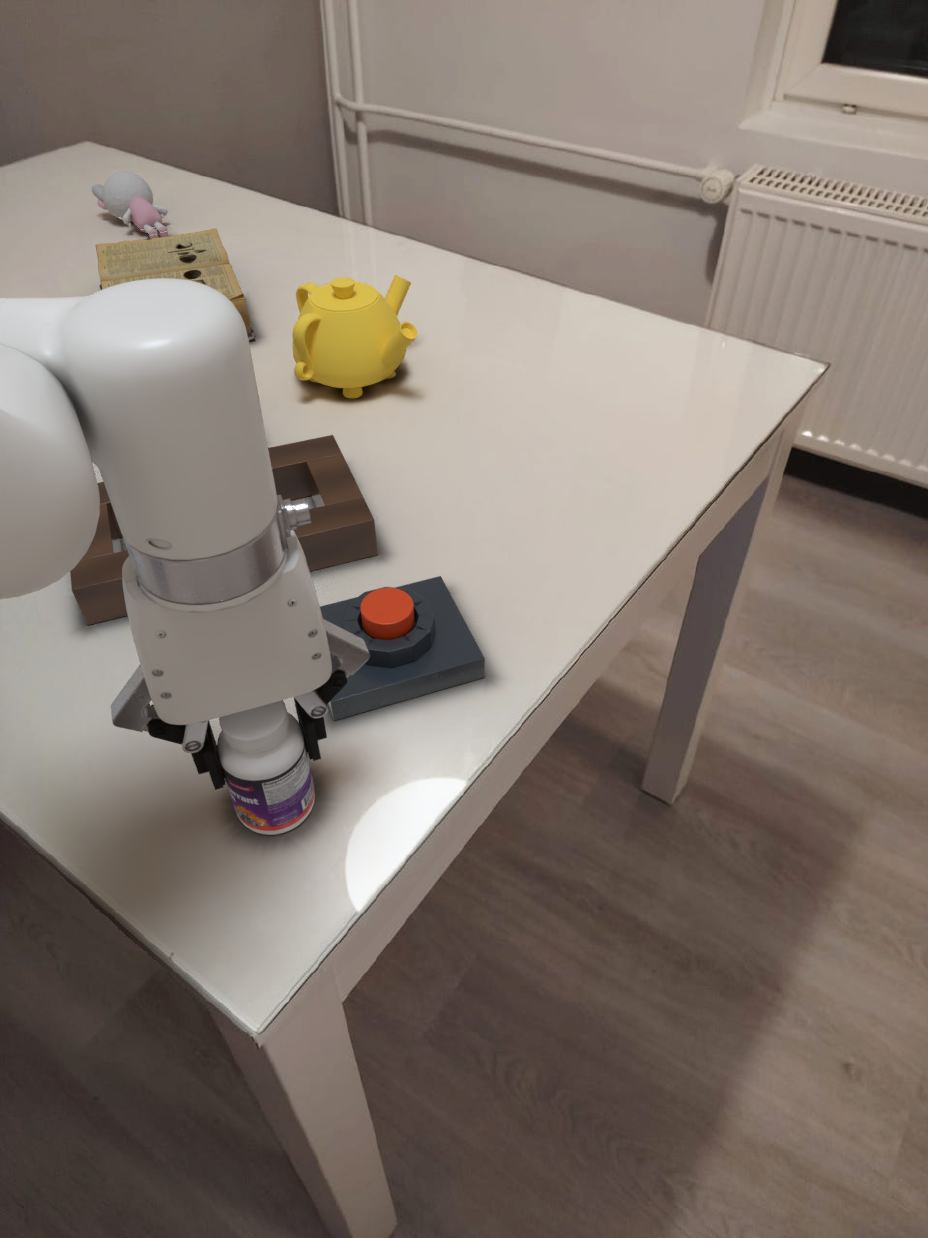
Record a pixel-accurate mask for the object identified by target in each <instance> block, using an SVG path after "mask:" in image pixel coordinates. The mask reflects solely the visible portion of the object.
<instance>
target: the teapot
mask: <svg viewBox="0 0 928 1238" xmlns="http://www.w3.org/2000/svg"><path fill="white" fill-rule="evenodd" d="M411 284H412V282H410V281H409V280H408V279H405V278H404V277H401V276H400V275H396V274H394V276H393V278H392V280H391V282H390V285H389V288H388V289H387V292H386V294H385V296H383V295H382V293H381V292H380V291H379V290H378V289H377V288H376V287H374V286H372V285H371V284H368V283H366V282H363V281H362V282H361V281H355V279H354V278H352V277H347V276H341V277H340V276H339V277H335V278H334V279H332V280H331V281H330V282H329V283H326V284H325V283H324V284H323V285H321V286H319V285H318V284H316V283H314V282H305V283H302V284H301V285H299V286H298V287H297V289H296V291H295V298H296V303H297V307H298V311H299V315H298V317H297V320H296V321H295V323H294V326H293V328H292V356H293V361H294V363H295V366H294V370H293V374H294V376H295V377H296V379H298V380H300V381H310V382H312V383H317V384H321V385H324V386H327V387H332V388H338V389H342V395H343V396H344V397H345V398H347V399H357V398H360V397H361V396H362V395H363V394H364V391H363V387H367V386H371V385H375V384H377V383H380V382H382V381H384V380H390V379H392V378H394V377H396V375H397V373H396V370H397V368H398V367H399V366H400V365H401V364H402V362H403V360H404V359H405V356H406V353H407V348H408V347H409V346H410V345H411V344H412V343H413V342H414V341H415V339H416V338H417V337H418V334H419V333H418V329H417V327H416V326H415V325H414V324H413V323H411V322H410V321H403V322H400V320H399V317H398V316H399V313H400V311H401V309H402V306H403V303H404V301H405V299H406V296H407V294H408V292H409V290H410V287H411Z"/></svg>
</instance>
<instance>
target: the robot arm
mask: <svg viewBox="0 0 928 1238" xmlns="http://www.w3.org/2000/svg"><path fill="white" fill-rule="evenodd" d="M257 383H258V382H257V379H256V373H255V367H254V361H253V355H252V350H251V345H250V340H248V336H247V331H246V327H245V324H244V321H243V319H242V317H241V315H240V313H239V312H238V310H237V309H236V307H235V306H234V304H233V303H232V302H231V301H230V300H229V299H228V298H227V297H226V296H224V295H223V294H222V293H221V292H219V291H217V290H215V289H213V288H211V287H209V286H207V285H205V284H201V283H198V282H195V281H190V280H184V279H173V278H157V279H145V280H137V281H131V282H126V283H122V284H118V285H115V286H111V287H108V288H106V289H103V290H101V289H100V290H97V291H96V292H93V293H92V294H90V295H83V296H82V295H81V296H66V297H64V296H63V297H62V296H61V297H0V600H6V599H12V598H19V597H22V596H25V595H29V594H32V593H35V592H39V591H41V590H43V589H46V588H47V587H49V586H51V585H54V584H55V583H57V582H59V581H60V580H62V578H64V577H65V576H67V574H70V571H71V570H72V569H74V568H75V566H76V565H77V564H78V562H79V561H80V560H81V559H82V557H83V556H84V555H85V554H86V552H87V551H88V549H89V547H90V545H91V542H92V540H93V538H94V536H95V533H96V529H97V524H98V519H99V515H100V496H99V488H98V483H99V482H98V479H97V475H96V472H95V468H94V465H95V466H96V467H97V468H98V470H99V473H100V475H101V479H102V482H104V485H105V487H106V490H107V493H108V496H109V499H110V502H111V505H112V507H113V510H114V513H115V516H116V519H117V522H118V525H119V528H120V530H121V533H122V536H123V537H122V539H123V541H124V545H125V549H126V550H128V553H129V556H128V557H127V559H126V560H125V562H124V564H123V567H122V582H123V591H124V598H125V604H126V610H127V614H128V616H127V618H128V622H129V627H130V632H131V634H132V639H133V642H134V646H135V651H136V654H137V657H138V661H139V665H138V667H137V668H136V670H134V673H132V675H131V676H130V678H129V679H128V681H127V682H126V683H125V685H124V686H123V688H122V689H121V691H120V692H119V693H118V694H117V696H116V697H115V698H114V700H113V701H112V703H111V704H110V713H111V721H112V722H111V723H112V725H113V726H114V727H117V728H121V729H125V730H129V731H134V732H139V733H143V732H147V733H148V735H149V736H150V737H151V738H155V739H159V740H163V741H165V742H166V741H167V742H169V743H173V744H177V745H181V749H182V751H184V752H185V753H187V754H191V757H192V760H193V763H194V766H195V769H196V772H197V774H198V775H202V774H206V773H209V777H210V780H211V783H212V785H213V789H214V790H215V791H216V790H220V789H224V786H225V785H226V786H227V784H226V781H225V778H224V774H223V771H222V768H221V765H220V762H219V759H218V754H217V741H216V738H215V735H214V732H213V729H212V725H211V722H210V720H214V719H219V717H222V716H226V715H230V714H234V713H237V712H241V711H245V710H249V709H252V708H256V707H260V706H263V705H267V704H271V703H274V702H278V701H281V700H283V701H284V700H289V699H292V698H293V701H294V706H295V707H294V708H295V711H296V715H297V721H298V722H299V724H300V726H301V728H302V731H303V734H304V738H305V744H306V749H307V754H308V759H309V761H313V762H316V761H318V760H322V757H321V750H320V746H319V741H320V740H324V739H327V738H328V735H327V729H326V728H327V727H326V723H325V718H324V716H326V715H327V714H328V712H329V706H328V703H329V702H330V701H331V700H332V699H333V698H334V697H335V696H336V694H337V693H338V692H339V691H340V690H341V689H342V688H343V687H344V686H345V685H346V684H347V678H348V677H349V676H350V675H353V674H354V673H355V672H356V671H357V670H358V669H359V668H361V667H362V666H363V665H364V664H365V663H366V662H367V661H368V660H369V658H370V653H369V651H368V648H367V646H366V643H365V641H364V640H363V639H362V638H360V637H358V636H356V635H354V634H352V633H350V632H348V631H346V630H344V629H342V628H340V627H338V626H336V625H334V624H332V623H330V622H328V621H326V620H324V619H323V618H322V613H321V609H320V606H321V605H320V601H319V598H318V595H317V590H316V587H315V584H314V580H313V577H312V573H311V571H309V567H308V564H307V561H306V557H305V555H304V552H303V549H302V547H301V545H300V542H299V540H298V538H297V536H296V534H295V532H294V531H293V530H295V529H297V526H302V525H307V524H311V518H310V512H309V509H310V508H309V505H308V502H307V500H306V497H303V498H298V499H294V500H290V499H286V500H283V499H282V497H281V495H277V494H276V488H275V482H274V477H273V472H272V467H271V461H270V456H269V450H268V448H269V446H268V445H269V444H268V440H267V434H266V429H265V428H266V427H265V422H264V418H263V411H262V407H261V401H260V395H259V389H258V384H257ZM93 464H94V465H93ZM330 653H331V654H333V657H332V658H331V656H330ZM151 702H152V704H151Z"/></svg>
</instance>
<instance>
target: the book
mask: <svg viewBox="0 0 928 1238" xmlns="http://www.w3.org/2000/svg"><path fill="white" fill-rule="evenodd" d="M94 247H95V248H96V249H95V250H96V251H95V252H96V257H97V269H98V275H99V279H100V284H99V289H100V290H103V289H106V288H108V287H111V286H115V285H118V284H122V283H126V282H131V281H137V280H145V279H157V278H173V279H184V280H190V281H195V282H198V283H201V284H205V285H207V286H209V287H211V288H213V289H215V290H217V291H219V292H221V293H222V294H223V295H224V296H226V297H227V298H228V299H229V300H230V301H231V302H232V303H233V304H234V306H235V307H236V309H237V310H238V312H239V313H240V315H241V317H242V319H243V321H244V324H245V327H246V331H247V336H248V340H249V341H251V340H253V339H254V338H255V337H256V335H255V332H254V330H253V328H252V324H251V318H250V314H249V311H248V307H247V301H246V297H245V295H244V293H243V291H242V289H241V286H240V284H239V282H238V280H237V277H236V275H235V271H234V269H233V265H232V264H231V263H230V260H229V255H228V252H227V250H226V248H225V246H224V244H223V242H222V240H221V236H220V234H219V231H218V230H217V228H211V229H205V230H201V231H195V232H188V233H181V234H175V235H168V236H167V237H160V236H159V237H158V238H153V239H150V238H143V239H135V240H123V241H118V242H109V243H107V242H106V243H104V242H103V243H96V244H95V246H94Z"/></svg>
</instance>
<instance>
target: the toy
mask: <svg viewBox="0 0 928 1238" xmlns="http://www.w3.org/2000/svg"><path fill="white" fill-rule="evenodd" d="M91 193H92V195H93V196H94V197H95V198H96V199H98V200H97V201H96V202H97V206H98V207H99V208H101V209H102V210H104V211H105V210H106V211H108V212H109V213H110V214H111V216H112V217H114V216H115V217H114V218H116V217H121V218H123V219H119V220H120V221H122V223H123V224H124V225H127V226H128V227H129V228H131V227H132V223H133V224H134V226H135V227H136V226H137V227H138V228H139V229H145V230H139V229H138V228H137V227H136V228H137V229H138V230H139V231H140V232H142V233H145V234H147V233H148V234H150V235H151V234H156V233H158V234H157V235H153V236H150V235H148V234H147V235H148V237H149V239H153V238H160V237H168V236H169V231H167V230H168V228H167V226H165V225H163V219H162V218H164V219H165V216H167V215H168V209H167V208H166V207H165V206H163V205H157V204H154V196H153V195H154V194H153V191H152V189H151V186H150V185H149V184H148V182H147V181H146V180H145V179H144V178H143V177H141V176H140V175H139V174H136V173H133V172H127V171H122V172H116V173H114V174H112V175H111V176H109V177H108V178H107V179H106V180H105V182H104V184H103V185H102V184H99V183H95V184H93V185H92V186H91ZM152 227H155V228H152ZM156 229H157V230H158V231H159V232H164V231H167V232H164V233H159V232H158V231H157V230H156Z"/></svg>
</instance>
